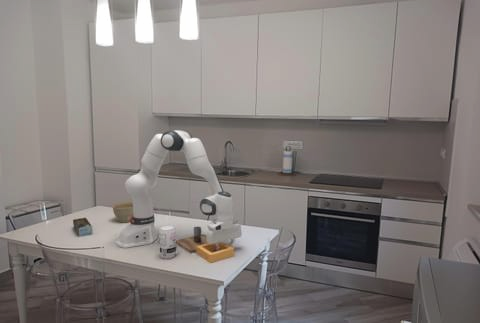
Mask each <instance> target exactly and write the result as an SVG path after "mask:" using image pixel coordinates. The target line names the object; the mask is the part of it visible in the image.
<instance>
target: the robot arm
mask: <svg viewBox="0 0 480 323" xmlns="http://www.w3.org/2000/svg"><path fill="white" fill-rule="evenodd" d="M150 140H151V141H150V142H149V144H148V145H147V147H146V150H145V152H144V154H143V156H142V158H141V161H140V163H141V166H140V170H139V172H138V173H136V174H133V175H131V176H130V177H128V178H127V179H126V180H125V183H124V188H125V191H126V192H127V193H128V194H129V196H130V198H131V202H132V203H133V217H132V218H131V217H128V218H127V219H128V220H129V221H130V223H129V224H128V225H126V226H125V228H123V229H122V230H121V232H120V235H119V238H118V239H116V241H115V244H116V245H117V246H118V247H120V248H124V249H126V248H133V247H139V246H141V247H142V246H146V245H152V244H153V243H154V242H155V241H156V240H157V239H158V235H157V233H156V228H155V214H154V201H153V199H151V197H150V196H151V195H150V193H149V190H151V189H153V188H154V187H156V185H158V182H159V177H158V176H159V173H160V170H161V167H162V165H163V163H164V160H165V159H166V157H167V155H168V152H169V151H170V152H179V151H180V152H182V153H184V157H185V160H186V162H187V167H188V169H189V171H190V172H191V173H192V175H195V176H198V177H202V178H204V179H205V181H206V182H207V184H208V186H209V188H210V190H211V191H210V192H211V193H212V195H209V196H206V197H204V198H202V199H201V201H200V202H199V209H200V211H201V213H202V214H203V215H205V216H215V219H213V220H212V221H210V222H209V223H207V224H206V225H207V230H206V234H205V235H206V241H207V243H208V244H210V245H212V244H215V246H216V250H215V251H216V252H217V251H220V247H219V246H218V245H219V243H220V242H223V243H225V242H226V241H230V242H229V243H228V246H230V247H232V248H234V243H235V239H238V238H241V237H242V235H243V233H242V232H243V231H242V222H241V221H240V220H239V219H236V220H234V216H233V211H234V202H233V197H232V193H229V192H227V191H224V189H223V187H222V186H223V185H222V184H221V182H220V179H219V177H218V175H217V172H216V170H215V168H214V167H213V166H212V164H211V163H210V161H209V157H208V155H207V152H206V148H205V146H204V144H203V142H202V141H201V139H200V138H199V137H198V138H197V137H193V136H192V134H191V133H190V132H188V131H185V130H178V129H175V130H168V131H167V130H166V131H165V132H164V133H156V134H155V135H154V136H153V138H151V139H150Z"/></svg>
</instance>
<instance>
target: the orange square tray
mask: <svg viewBox="0 0 480 323" xmlns="http://www.w3.org/2000/svg"><path fill="white" fill-rule="evenodd" d="M218 246H219V247H220V250H219V251H217V250H216V246H215V244H212V245H210V244H208V243H207V244H203V245H199V246H196V252H195V254H196V255H197V256H199V257H200V258H201V259H204V260H205V261H207V262H208V263H210V264H211V263H214V262H218V261H221V260H225V259H229V258H232V257H235V256H234V255H235V248H234V247H230V246H229V244H226V243H225V242H220V243H219V245H218Z"/></svg>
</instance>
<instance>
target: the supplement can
mask: <svg viewBox="0 0 480 323" xmlns="http://www.w3.org/2000/svg"><path fill="white" fill-rule="evenodd" d="M176 234H177V230H176V228H175V226H173V225H169V224H168V225H162V226H161V227H159V230H158V237H159V238H158V239H159V257H161V259H165V260H167V259H169V260H170V259H173V258H175V257H176V255H177V243H176V240H177V235H176Z"/></svg>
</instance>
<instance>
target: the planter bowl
mask: <svg viewBox="0 0 480 323" xmlns="http://www.w3.org/2000/svg"><path fill="white" fill-rule="evenodd" d="M112 212H113V213H114V214H113V215H114V217H116V219H117V220H118V222H120V223H129V222H130V221H129V220H128V219H127V218H128V217H131V218H132V217H133V203H132V201H126V202H125V201H123V202H118V203H115V204H113V205H112Z"/></svg>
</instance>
